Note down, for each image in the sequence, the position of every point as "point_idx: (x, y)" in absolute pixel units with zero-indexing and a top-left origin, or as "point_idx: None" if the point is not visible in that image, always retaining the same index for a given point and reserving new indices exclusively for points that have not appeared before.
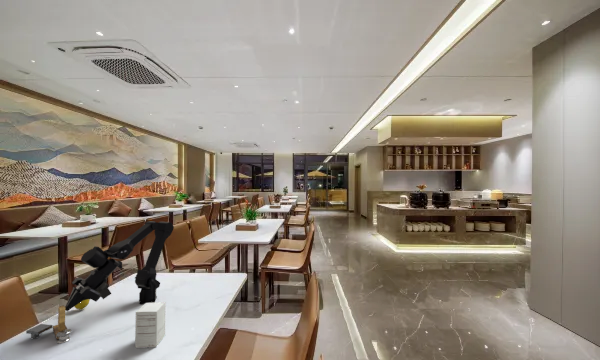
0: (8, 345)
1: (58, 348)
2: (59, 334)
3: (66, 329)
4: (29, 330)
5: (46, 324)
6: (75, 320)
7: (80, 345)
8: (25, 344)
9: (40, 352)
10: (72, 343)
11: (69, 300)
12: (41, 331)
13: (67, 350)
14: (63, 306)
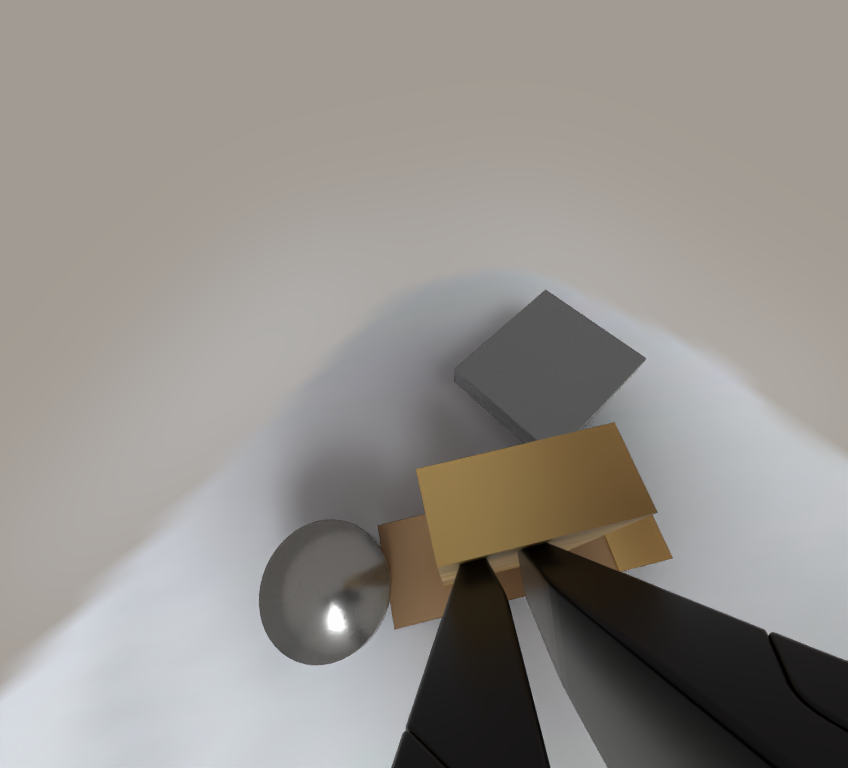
0: (522, 274)
1: (225, 562)
2: (300, 548)
3: (384, 606)
4: (534, 307)
5: (602, 402)
6: None
7: (111, 760)
8: (474, 348)
9: (266, 451)
10: (224, 674)
11: (630, 661)
12: (474, 391)
13: (120, 639)
14: (572, 513)
